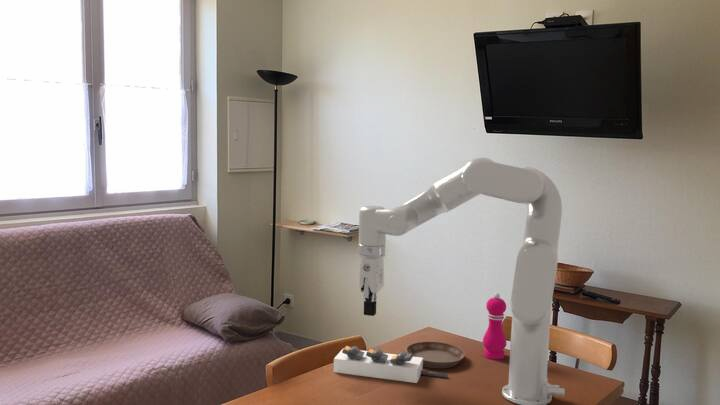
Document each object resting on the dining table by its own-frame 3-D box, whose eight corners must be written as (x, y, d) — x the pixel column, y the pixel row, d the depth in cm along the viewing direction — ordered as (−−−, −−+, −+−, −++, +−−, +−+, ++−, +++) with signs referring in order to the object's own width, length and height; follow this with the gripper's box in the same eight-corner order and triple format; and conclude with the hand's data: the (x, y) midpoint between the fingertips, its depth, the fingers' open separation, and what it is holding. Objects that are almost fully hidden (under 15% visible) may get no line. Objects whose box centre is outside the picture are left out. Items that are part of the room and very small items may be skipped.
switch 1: (362, 358, 176) (365, 349, 176) (359, 362, 173) (362, 354, 172) (344, 351, 177) (347, 342, 177) (341, 355, 174) (343, 346, 173)
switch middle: (386, 361, 174) (389, 352, 174) (383, 365, 171) (386, 357, 170) (368, 353, 175) (370, 345, 175) (365, 358, 172) (367, 349, 171)
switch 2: (413, 359, 172) (411, 350, 172) (411, 363, 168) (408, 354, 168) (394, 362, 174) (392, 353, 173) (391, 366, 170) (389, 357, 170)
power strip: (449, 374, 174) (449, 360, 174) (444, 386, 166) (445, 371, 165) (342, 361, 183) (343, 347, 182) (333, 372, 174) (333, 357, 174)
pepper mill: (506, 361, 186) (509, 296, 184) (481, 359, 187) (484, 295, 185) (505, 353, 193) (508, 291, 191) (482, 351, 194) (484, 289, 192)
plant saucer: (463, 352, 193) (464, 343, 193) (465, 373, 176) (465, 363, 176) (407, 348, 196) (408, 339, 196) (403, 369, 179) (403, 358, 178)
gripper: (378, 256, 162) (376, 323, 164) (390, 247, 177) (388, 309, 179) (351, 254, 164) (349, 320, 166) (365, 245, 179) (363, 306, 181)
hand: (369, 314), depth 172 cm, fingers closed
